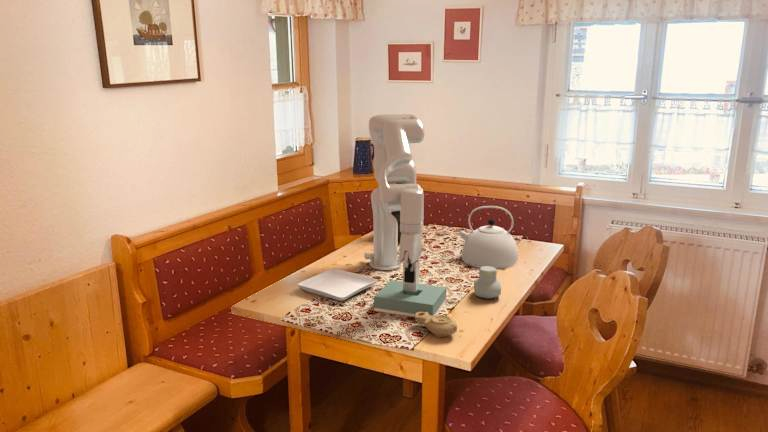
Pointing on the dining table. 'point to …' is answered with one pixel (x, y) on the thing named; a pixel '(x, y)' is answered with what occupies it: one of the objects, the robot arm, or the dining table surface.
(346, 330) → the dining table surface
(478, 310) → the dining table surface
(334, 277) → the salad plate
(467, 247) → the kettle
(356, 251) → the dining table surface
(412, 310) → the well block
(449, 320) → the oil lamp
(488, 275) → the air freshener
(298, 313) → the dining table surface
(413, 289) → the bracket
